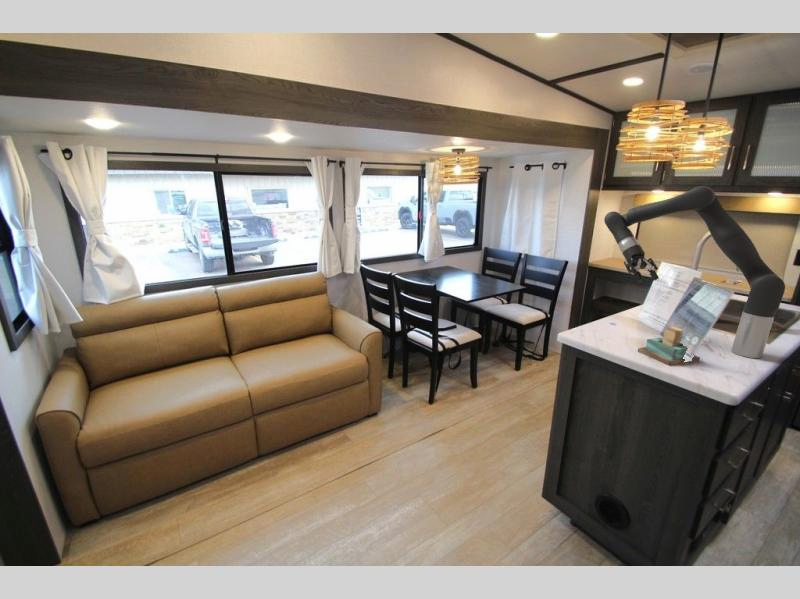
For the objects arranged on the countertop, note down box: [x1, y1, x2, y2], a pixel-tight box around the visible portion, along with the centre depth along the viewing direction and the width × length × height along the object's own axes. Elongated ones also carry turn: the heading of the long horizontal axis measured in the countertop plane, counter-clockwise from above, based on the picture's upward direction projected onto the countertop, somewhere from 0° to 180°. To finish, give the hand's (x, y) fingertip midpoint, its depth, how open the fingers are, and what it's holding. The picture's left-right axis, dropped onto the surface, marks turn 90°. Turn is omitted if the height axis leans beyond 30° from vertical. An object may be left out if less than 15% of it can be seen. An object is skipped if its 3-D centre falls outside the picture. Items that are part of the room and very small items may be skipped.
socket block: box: [637, 337, 701, 366], centre depth 145 cm, size 16×13×6 cm
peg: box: [662, 326, 684, 347], centre depth 144 cm, size 4×4×10 cm
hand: (648, 279), depth 157 cm, fingers open, 8 cm apart
